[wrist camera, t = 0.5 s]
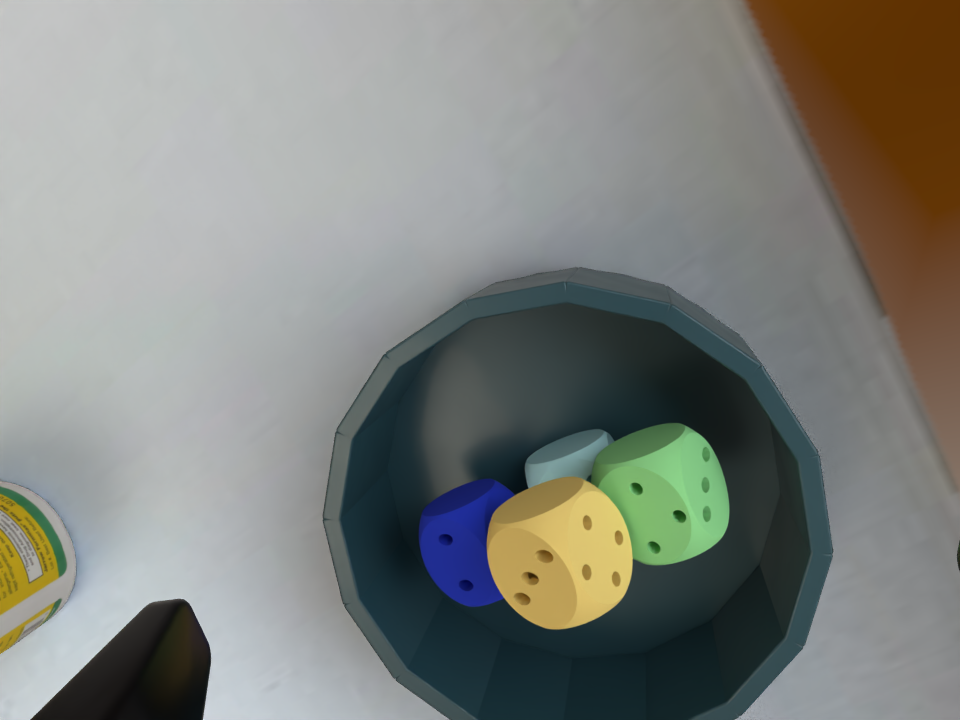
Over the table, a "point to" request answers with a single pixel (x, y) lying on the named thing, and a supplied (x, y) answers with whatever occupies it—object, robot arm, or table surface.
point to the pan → (502, 456)
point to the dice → (577, 523)
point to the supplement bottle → (31, 563)
